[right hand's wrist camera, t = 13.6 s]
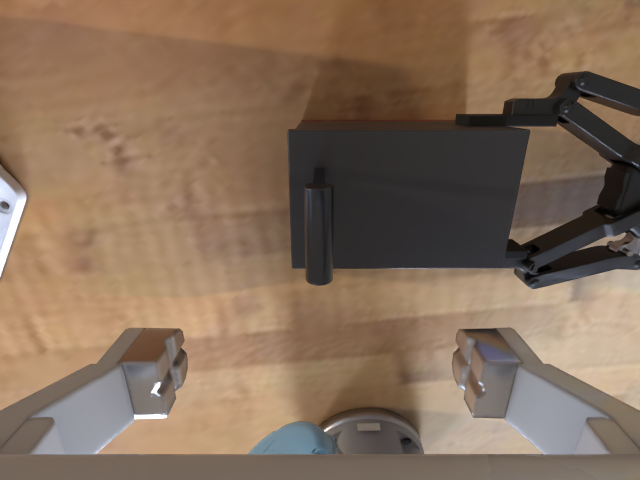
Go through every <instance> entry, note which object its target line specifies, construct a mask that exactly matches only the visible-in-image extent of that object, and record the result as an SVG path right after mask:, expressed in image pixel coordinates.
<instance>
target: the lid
mask: <svg viewBox="0 0 640 480" xmlns="http://www.w3.org/2000/svg"><path fill="white" fill-rule="evenodd" d="M287 133H288V163H289V193H290V223H291V253H292V268H293V269H306V281H307V282H308V283H310V284H312V285H318V286H320V285H326V284H329V283H330V282H331V281H332V279H333V269H420V268H503V263H504V258H505V253H506V248H507V243H508V238H509V233H510V228H511V223H512V218H513V213H514V208H515V204H516V199H517V194H518V189H519V184H520V179H521V174H522V169H523V164H524V159H525V154H526V149H527V144H528V139H529V134H530V130H527V129H289V130H288V131H287Z"/></svg>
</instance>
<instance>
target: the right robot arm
mask: <svg viewBox="0 0 640 480" xmlns="http://www.w3.org/2000/svg"><path fill="white" fill-rule="evenodd" d="M26 199H27V197H26V193H25V191H24V189H23V188H22V186H21V185H20V184H19V183H18V182H17V181H16V180H15V179H14V178H13V177H12V176H11V175H10V174H9V173H8V172H7V171H6V170H5V169H4V168H3V167H2V165H1V164H0V276H1V273H2V270H3V267H4V264H5V261H6V259H7V256H8V253H9V250H10V247H11V244H12V241H13V238H14V235H15V232H16V229H17V226H18V223H19V220H20V217H21V215H22V212H23V209H24V206H25V203H26ZM6 202H7V203H8V204H9V206H8V205H7V204H6ZM184 341H185V340H184V336H183V331H182V330H181V329H175V328H128V329H126V330H125V331H124V332H123V333H122V334H121V335H120V337H119V338H118V339H117V340H116V341H115V342H114V344H113V345H112V346H111V347H110V348H109V350H108V351H107V352H106V353H105V354H104V355H103V357H102V358H101V359H100V360H99V361H98V363H97V364H90V365H88V366H86V367H84V368H82V369H80V370H78V371H76V372H74V373H72V374H70V375H69V376H67V377H65V378H63V379H61V380H59V381H57V382H55V383H53V384H51V385H49V386H47V387H45V388H43V389H41V390H39V391H38V392H36V393H34V394H32V395H30V396H28V397H26V398H24V399H22V400H20V401H18V402H16V403H14V404H12V405H10V406H8V407H7V408H5V409H3V410H1V411H0V480H640V411H639V410H637V409H635V408H633V407H631V406H629V405H627V404H625V403H624V402H622V401H620V400H618V399H616V398H614V397H612V396H610V395H608V394H606V393H604V392H602V391H600V390H598V389H597V388H595V387H593V386H591V385H589V384H587V383H585V382H583V381H581V380H579V379H577V378H575V377H573V376H571V375H570V374H568V373H566V372H564V371H562V370H560V369H558V368H556V367H554V366H552V365H550V364H543V363H542V361H541V360H540V359H539V358H538V357H537V355H536V354H535V353H534V352H533V351H532V350H531V348H530V347H529V346H528V345H527V344H526V343H525V341H524V340H523V339H522V338H521V337H520V335H519V334H518V333H517V332H516V331H515V330H514V329H512V328H493V329H459V330H458V332H457V335H456V340H455V341H456V343H457V345H458V346H459V348H458V349H457V350H456V351H455V352H454V353H453V360H452V367H453V374H454V378H455V381H456V383H457V385H458V387H460V388H461V389H462V390H464V391H465V395H464V400H465V402H466V404H467V406H468V408H469V410H470V412H471V414H472V416H473V418H505V421H507V422H508V423H509V424H510V425H511V426H512V427H514V428H515V429H516V430H517V431H518V432H519V433H521V434H522V435H523V436H524V437H525V438H526V439H528V440H529V441H530V442H531V443H532V444H533V445H535V446H536V447H537V448H538V449H539V450H540V451H542V452H543V453H544V454H96V453H97V452H99V451H100V450H101V449H102V448H103V447H104V446H106V445H107V444H108V443H109V442H110V441H111V440H113V439H114V438H115V437H116V436H117V435H118V434H120V433H121V432H122V431H123V430H124V429H125V428H127V427H128V426H129V425H130V424H131V423H133V422H134V421H135V418H167V416H168V414H169V412H170V410H171V408H172V406H173V404H174V402H175V400H176V395H175V391H176V390H178V389H179V388H180V387H182V385H183V383H184V381H185V378H186V374H187V369H188V359H187V353H186V352H185V351H184V350H183V349H182V348H181V346H182V345H183V343H184Z"/></svg>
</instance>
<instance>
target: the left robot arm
mask: <svg viewBox="0 0 640 480" xmlns="http://www.w3.org/2000/svg"><path fill="white" fill-rule="evenodd" d="M579 97H581V98H584V99H587V100H590V101H593V102H596V103H599V104H602V105H604V106H607V107H610V108H613V109H616V110H619V111H622V112H625V113H628V114H631V115H635V116H640V89H637V88H634V87H631V86H629V85H626V84H623V83H620V82H617V81H614V80H611V79H609V78H606V77H603V76H600V75H597V74H594V73H591V72H588V71H583V72H573V73H564V74H561V75H560V76H558V77H557V79H556V81H555V89H554V91H553V92H552V94H551V95H550V96H548V97H547V98H543V99H510V100H507V101H505V103H504V109H503V114H456V120H455V124H459V125H464V126H556V125H557V124H559V125H560V126H562V127H563V128H565V129H566V130H567V131H569V132H570V133H572V134H573V135H575V136H576V137H577V138H579V139H580V140H582V141H583V142H585V143H586V144H587V145H589V146H590V147H592V148H593V149H595V150H596V151H597V152H599V155H600V156H602V157H603V158H604V159H606V160H607V161H609V162H610V163H612V164H613V165H612V166H611V168H607V170H606V174H605V184H604V188H603V189H602V191H601V193H600V195H599V198H598V202H597V204H598V205H596V206H594V207H592V208H590V209H588V210H586V211H584V212H583V215H582V216H581V217H579V218H577V219H574V220H572V221H570V222H568V223H566V224H564V225H562V226H560V227H558V228H556V229H554V230H552V231H550V232H547V233H545V234H543V235H541V236H539V237H537V238H535V239H533V240H531V241H529V242H527V243H525V244H523V245H521V246H520V245H519V244H518V243H516V242H515V241H514V240H512V239H508V243H507V248H506V253H505V258H504V263H503V268H515V270H514V273H515V275H516V276H517V277H518V278H519V279H520V280H522V281H523V282H524V283H525V284H526V285H527V286H528V287H529V288H531V289H537V288H541V287H545V286H549V285H553V284H557V283H561V282H565V281H569V280H573V279H577V278H582V277H586V276H590V275H594V274H598V273H602V272H606V271H610V270H614V269H629V270H639V269H640V256H639V254H640V145H637V144H635V143H633V142H632V141H630V140H629V139H628V138H626V137H625V136H623V135H622V134H621V133H619V132H618V131H617V130H615V129H614V128H612V127H611V126H610V125H608V124H607V123H606V122H604V121H603V120H601V119H600V118H599V117H597V116H596V115H594V114H593V113H592V112H590V111H589V110H588V109H586V108H585V107H583V106H582V105H581V104H579V103H578V102H577V99H578V98H579ZM624 232H625V233H627V234H626V236H625V237H624V238H623V239H621V240H618V241H614V242H613V241H609V242H608V243H607V246H595V247H590V248H586V249H582V250H578V249H580V248H582V247H584V246H586V245H589V244H591V243H593V242H595V241H597V240H599V239H601V238H604V237H607V236H617V235H619V234H621V233H624ZM576 250H578V251H576ZM248 454H424V452H423V448H422V444H421V441H420V438H419V435H418V433H417V431H416V429H415V428H414V427H413V426H412V424H411V423H409V422H408V421H407V420H406V419H404V418H403V417H401V416H399V415H397V414H395V413H393V412H390V411H386V410H382V409H376V408H359V409H353V410H348V411H345V412H342V413H339V414H337V415H335V416H333V417H331V418H329V419H328V420H326V421H325V422H324V423H323V424H322V425H321V426H320V427H319V426H318V425H316V424H314V423H311V422H306V421H299V422H293V423H290V424H287V425H285V426H283V427H281V428H280V429H278V430H277V431H273V432H272V433H270V434H269V435H268V436H266V437H265V438H264V439H263V440H261V441H260V442H259V443H258V444H257V445H256V446H255V447H254V448H253V449H252V450H251V451H250V452H249V453H248Z"/></svg>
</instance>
